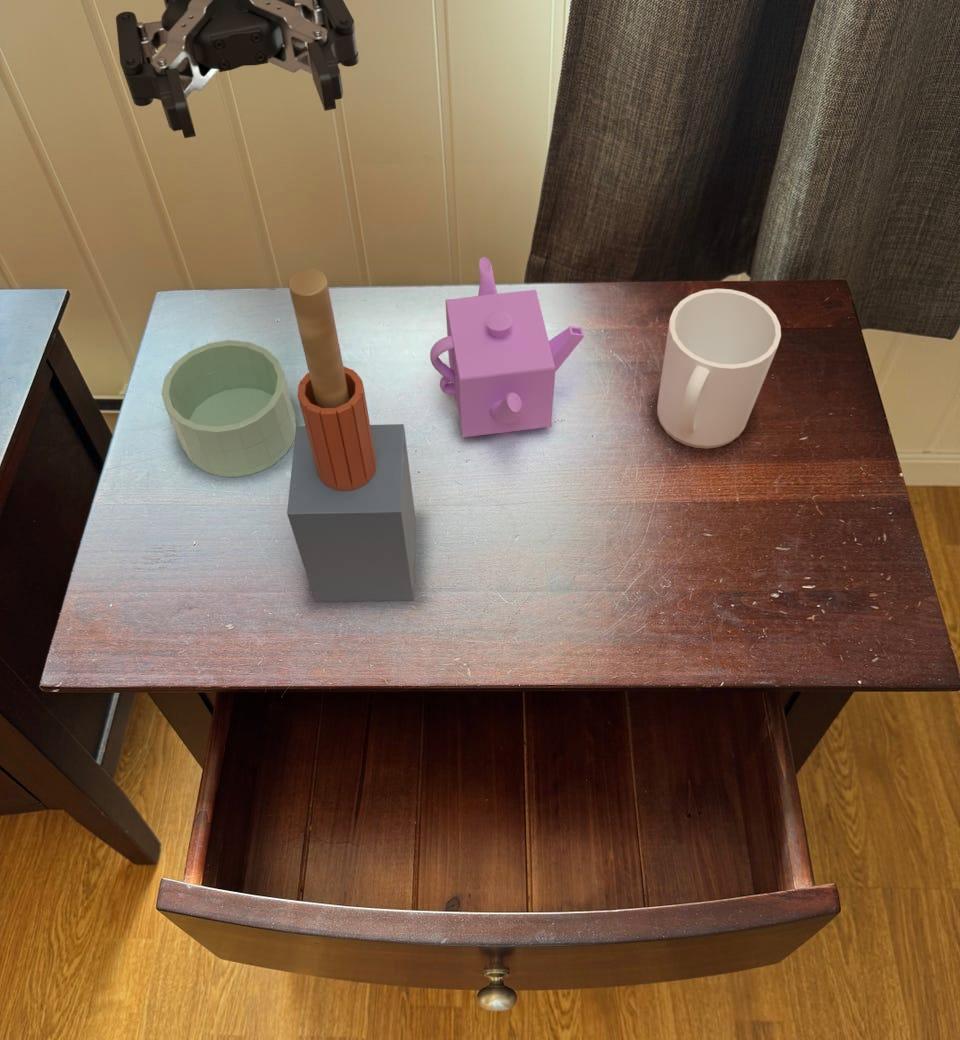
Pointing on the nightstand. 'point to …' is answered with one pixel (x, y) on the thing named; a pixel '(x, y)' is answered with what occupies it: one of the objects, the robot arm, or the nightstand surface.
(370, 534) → the holder
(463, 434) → the teapot
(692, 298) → the mug
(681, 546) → the nightstand surface
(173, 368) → the bowl
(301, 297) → the stick
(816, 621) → the nightstand surface
